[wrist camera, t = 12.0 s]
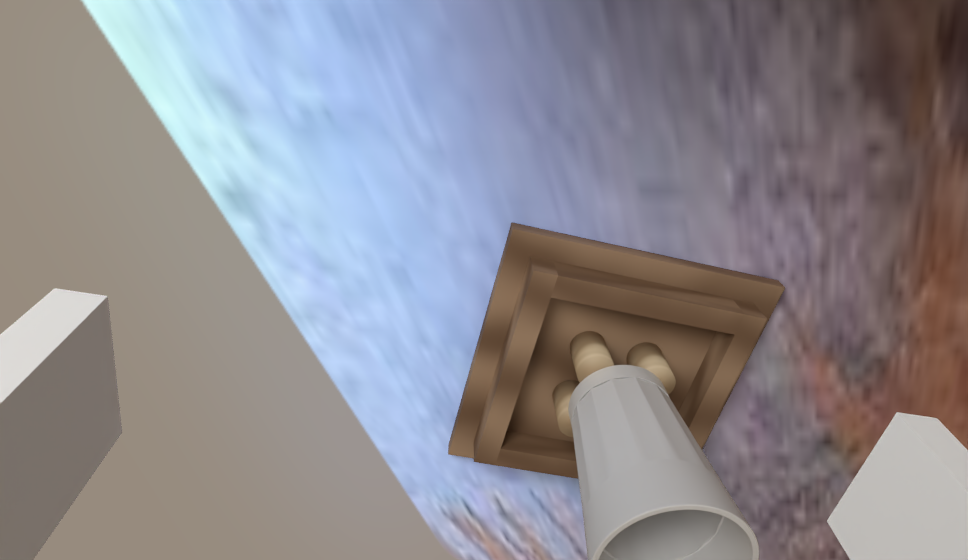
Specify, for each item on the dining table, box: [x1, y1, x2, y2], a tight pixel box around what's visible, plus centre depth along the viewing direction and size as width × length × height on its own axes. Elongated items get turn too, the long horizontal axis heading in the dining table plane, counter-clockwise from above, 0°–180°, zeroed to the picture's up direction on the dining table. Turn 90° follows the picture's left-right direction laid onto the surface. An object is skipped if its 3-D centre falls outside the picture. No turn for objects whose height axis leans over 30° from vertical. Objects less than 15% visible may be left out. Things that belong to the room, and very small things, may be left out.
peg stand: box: [448, 223, 785, 479], centre depth 42 cm, size 18×18×4 cm
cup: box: [568, 365, 759, 560], centre depth 35 cm, size 8×8×12 cm
